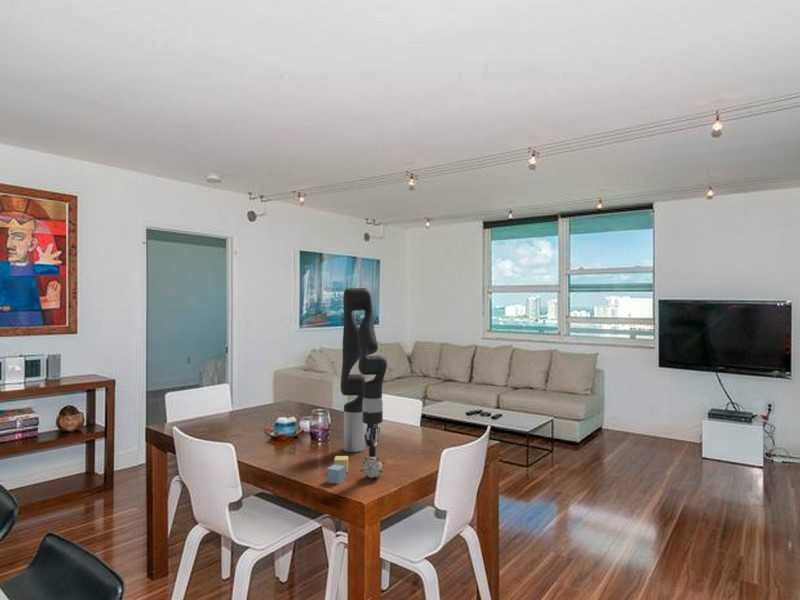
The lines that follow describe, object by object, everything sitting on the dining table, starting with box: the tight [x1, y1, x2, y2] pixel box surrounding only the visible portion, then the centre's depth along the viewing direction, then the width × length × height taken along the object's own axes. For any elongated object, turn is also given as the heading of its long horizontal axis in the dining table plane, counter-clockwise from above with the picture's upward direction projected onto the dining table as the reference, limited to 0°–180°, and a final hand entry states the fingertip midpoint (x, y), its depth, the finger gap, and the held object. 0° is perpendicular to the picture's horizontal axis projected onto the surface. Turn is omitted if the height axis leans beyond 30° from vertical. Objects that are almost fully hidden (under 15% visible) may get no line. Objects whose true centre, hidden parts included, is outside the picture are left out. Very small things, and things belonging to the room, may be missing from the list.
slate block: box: [326, 464, 347, 485], centre depth 180 cm, size 5×5×5 cm
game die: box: [359, 456, 386, 481], centre depth 183 cm, size 9×8×10 cm
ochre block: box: [333, 455, 349, 473], centre depth 191 cm, size 5×5×5 cm
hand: (372, 456), depth 183 cm, fingers closed
